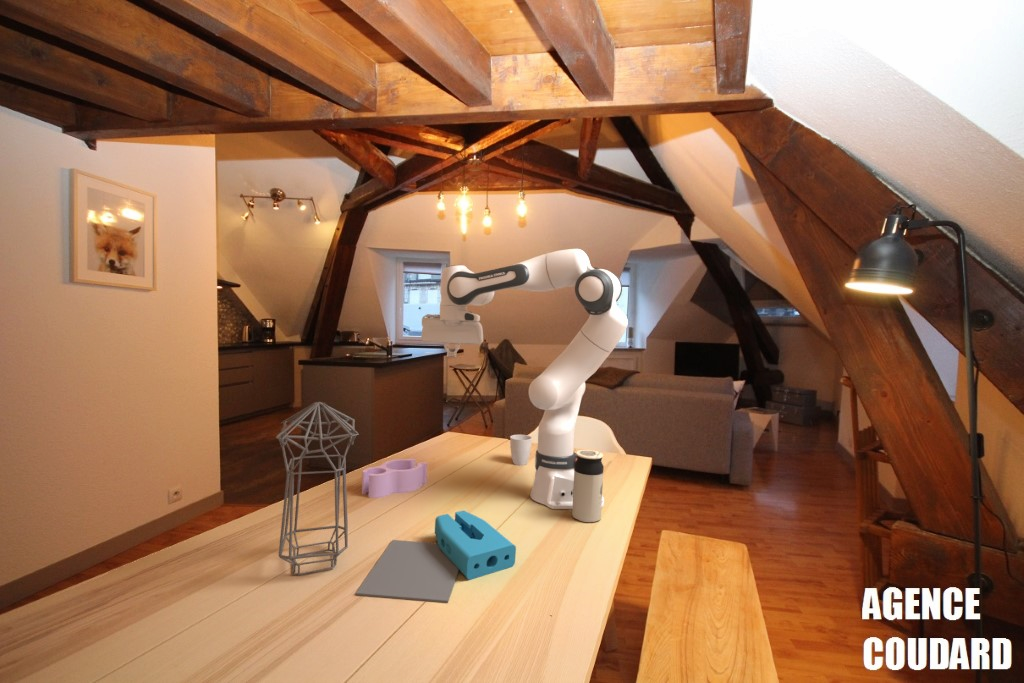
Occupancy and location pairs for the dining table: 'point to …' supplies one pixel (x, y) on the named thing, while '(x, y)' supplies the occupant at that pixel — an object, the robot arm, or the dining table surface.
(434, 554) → the mat
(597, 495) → the travel mug
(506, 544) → the block
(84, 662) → the dining table surface
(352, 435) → the geometric lantern
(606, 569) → the dining table surface
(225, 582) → the dining table surface
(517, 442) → the cup
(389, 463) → the clip
